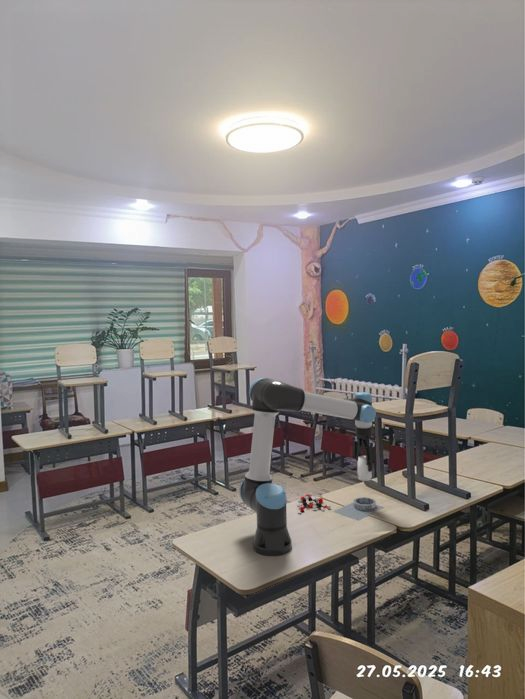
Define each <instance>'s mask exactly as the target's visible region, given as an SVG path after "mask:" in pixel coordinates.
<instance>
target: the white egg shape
mask: <svg viewBox="0 0 525 699" xmlns="http://www.w3.org/2000/svg"><path fill="white" fill-rule="evenodd" d="M369 462H370V461H369ZM366 464H367V460H366V455H362V456H359V457H358V475H357V477H358V480H359V481H363V482H368V481H371V479H372V478H368V479H367V478H366Z"/></svg>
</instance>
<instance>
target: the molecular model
mask: <svg viewBox="0 0 525 699" xmlns="http://www.w3.org/2000/svg"><path fill="white" fill-rule="evenodd" d="M312 496H313V493H312V492H310V493H307V494H305V496H301V497H300V499H298V500H297V503H298V504H296V507H297V508H298V509H299V508H300V509H299V511H300V512H302V513H304V512H305V507H306V506H308V508H309V509H314V510H316V508H320V509H321V512H325V510H326V509H331V508H332V507H331V504H327V505H323V504H322V503H323V502H324V499H323V498H322V497H320V496H319V497H318V496H316V497H315V498H314V499H313V498H312ZM308 502H314V503H315V504H313V503H311V504H308ZM299 503H300V504H299ZM301 503H302V505H303V506H301Z"/></svg>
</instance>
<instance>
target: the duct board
mask: <svg viewBox="0 0 525 699" xmlns="http://www.w3.org/2000/svg"><path fill="white" fill-rule="evenodd" d="M361 504H363V505H369V504H366V503H361ZM384 508H385V507H384V506H381V505H379V504H376V509H374V510H371V511H361V510H358V509H355V508H354V507H353V502H351V503H348V504H346V505H344V506H342V507H339V508H338V509H335V510H334V511H332V512H333V513H336V514H339V515H341V516H344V517H346V518H347V517H348V518H350V519H353V520H356V521H361V520H363V519H364V518H366V517H369V516H371V515H372V514H374V513H376V512H379V511H381V510H383V509H384Z"/></svg>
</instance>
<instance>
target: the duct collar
mask: <svg viewBox="0 0 525 699" xmlns="http://www.w3.org/2000/svg"><path fill="white" fill-rule="evenodd" d="M352 501H353V502H352V503H353V507H354V508H355V509H358V510H361V511H371V510H374V509H376V505H377V500H375V499H374V498H371V497H356V498H354V500H352ZM361 503H366V504H369V505H363V504H361Z"/></svg>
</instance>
